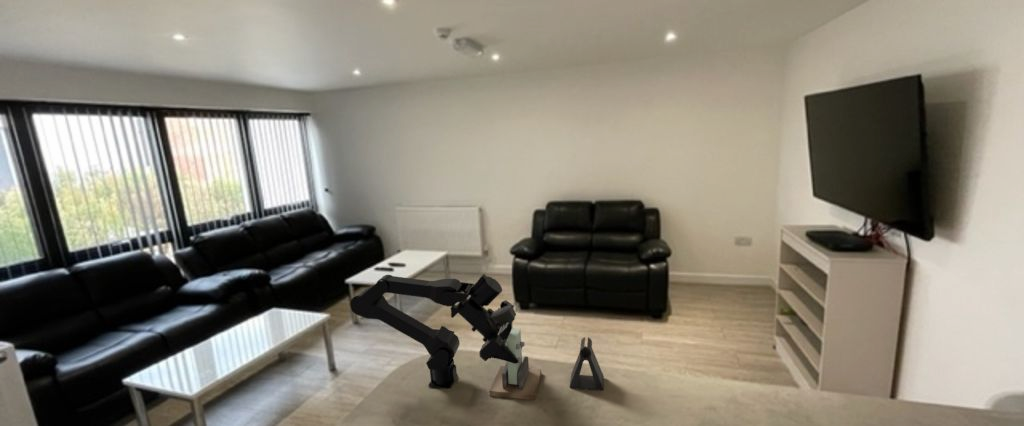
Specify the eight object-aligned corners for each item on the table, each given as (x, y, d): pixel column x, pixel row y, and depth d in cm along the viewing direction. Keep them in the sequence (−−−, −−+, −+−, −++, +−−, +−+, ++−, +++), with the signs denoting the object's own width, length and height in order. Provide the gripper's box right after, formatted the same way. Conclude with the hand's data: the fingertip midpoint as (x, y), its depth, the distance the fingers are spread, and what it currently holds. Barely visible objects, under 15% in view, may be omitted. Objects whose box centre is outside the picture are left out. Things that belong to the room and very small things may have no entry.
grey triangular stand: (603, 377, 118) (603, 338, 116) (603, 390, 112) (603, 349, 110) (571, 375, 120) (570, 336, 118) (569, 388, 114) (568, 347, 112)
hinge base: (489, 395, 113) (488, 375, 112) (501, 370, 124) (499, 351, 123) (534, 400, 110) (533, 379, 109) (541, 373, 122) (540, 354, 120)
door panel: (508, 383, 114) (506, 341, 111) (514, 369, 121) (512, 328, 118) (521, 384, 113) (518, 341, 111) (526, 370, 120) (524, 329, 117)
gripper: (488, 312, 104) (535, 355, 104) (503, 284, 122) (543, 320, 122) (460, 340, 107) (505, 382, 107) (478, 308, 125) (517, 344, 125)
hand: (519, 355), depth 115 cm, fingers closed on door panel, 7 cm apart
